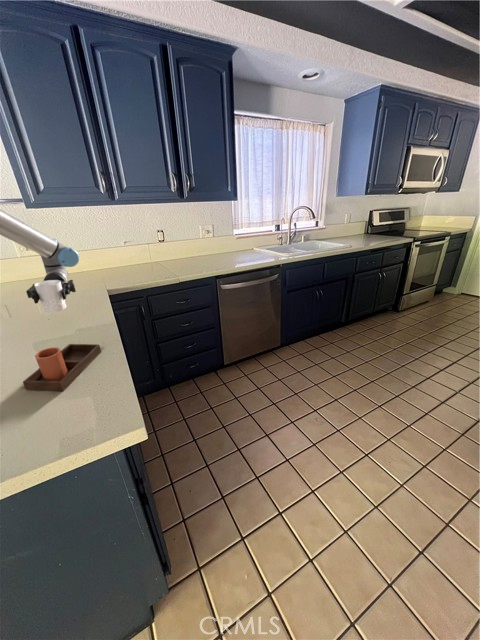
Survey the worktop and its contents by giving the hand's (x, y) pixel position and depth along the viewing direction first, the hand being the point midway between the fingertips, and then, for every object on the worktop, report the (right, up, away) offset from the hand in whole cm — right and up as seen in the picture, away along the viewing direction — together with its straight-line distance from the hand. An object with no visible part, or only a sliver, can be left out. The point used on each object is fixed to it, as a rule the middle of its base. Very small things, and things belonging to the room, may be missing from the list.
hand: (49, 297), depth 92 cm
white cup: (-2, -4, +6) cm, 8 cm away
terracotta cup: (+13, -25, -15) cm, 32 cm away
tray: (+13, -23, -10) cm, 28 cm away
